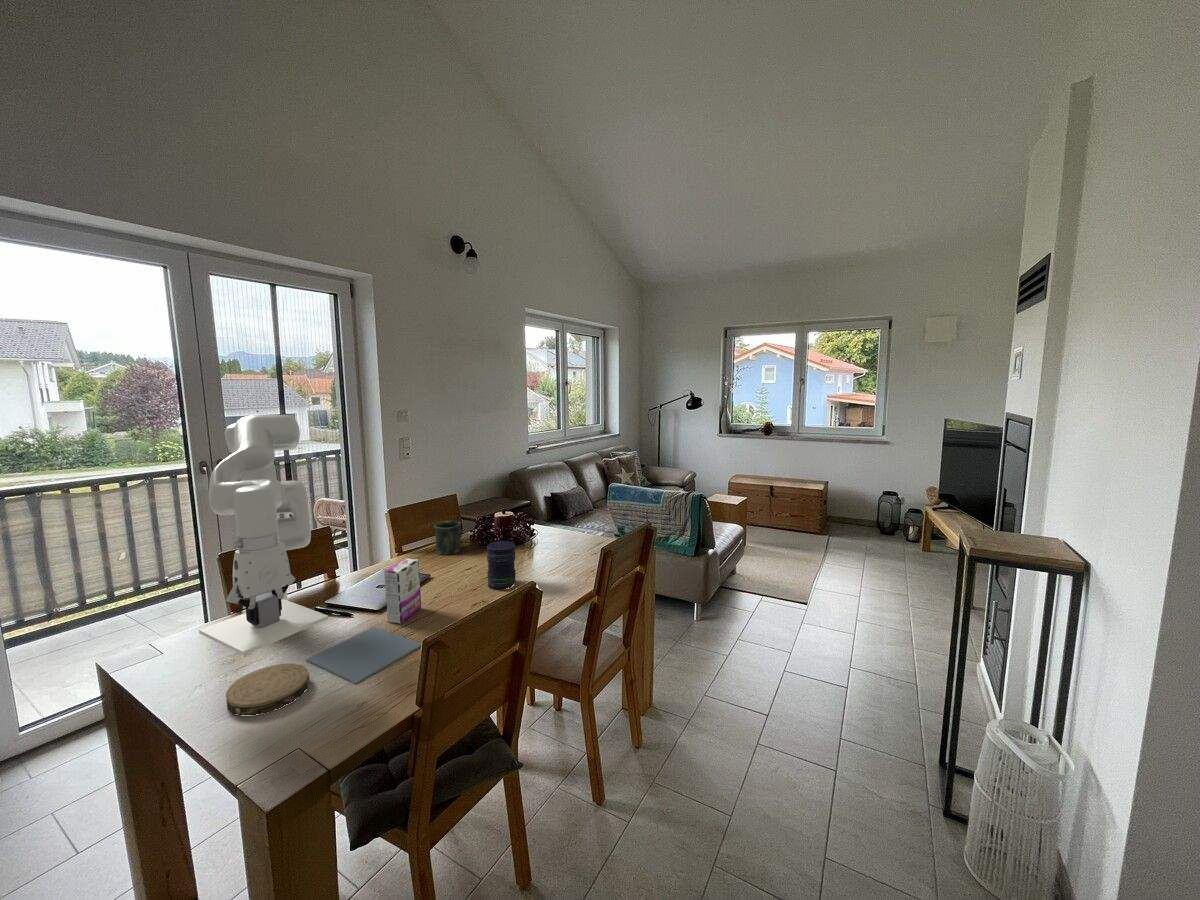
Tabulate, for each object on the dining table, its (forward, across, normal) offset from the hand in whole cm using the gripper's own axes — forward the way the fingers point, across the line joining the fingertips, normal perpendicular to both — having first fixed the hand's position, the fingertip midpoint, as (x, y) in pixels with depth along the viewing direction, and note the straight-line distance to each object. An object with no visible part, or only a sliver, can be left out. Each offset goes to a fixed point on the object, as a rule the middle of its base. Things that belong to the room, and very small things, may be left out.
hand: (265, 618), depth 112 cm
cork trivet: (+19, 0, 0) cm, 19 cm away
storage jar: (+18, +75, -6) cm, 77 cm away
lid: (+2, 0, 0) cm, 2 cm away
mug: (+19, +93, +36) cm, 101 cm away
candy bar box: (+18, +42, +5) cm, 46 cm away
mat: (+18, +22, -4) cm, 29 cm away
